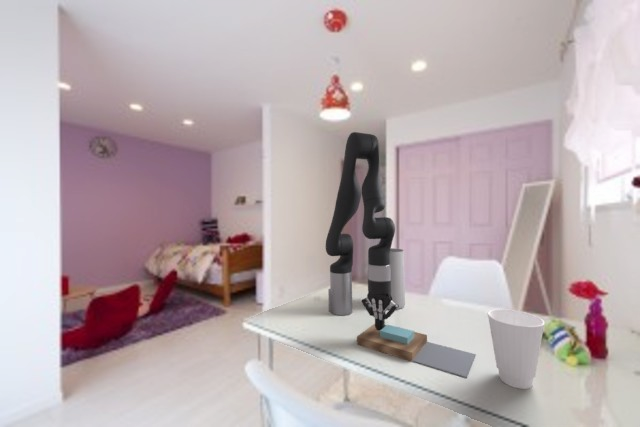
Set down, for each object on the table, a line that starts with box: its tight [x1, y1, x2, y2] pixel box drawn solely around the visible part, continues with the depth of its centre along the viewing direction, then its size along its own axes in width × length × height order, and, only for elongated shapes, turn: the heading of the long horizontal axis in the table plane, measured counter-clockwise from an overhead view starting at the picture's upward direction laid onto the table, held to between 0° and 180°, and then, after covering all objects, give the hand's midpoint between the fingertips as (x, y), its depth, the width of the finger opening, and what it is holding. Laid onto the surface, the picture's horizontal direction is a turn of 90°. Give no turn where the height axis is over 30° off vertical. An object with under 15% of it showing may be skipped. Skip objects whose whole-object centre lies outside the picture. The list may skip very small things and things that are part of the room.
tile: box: [380, 324, 415, 344], centre depth 91 cm, size 9×6×2 cm, turn 53°
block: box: [356, 323, 428, 362], centre depth 92 cm, size 18×14×2 cm
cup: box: [487, 308, 546, 390], centre depth 72 cm, size 12×12×16 cm
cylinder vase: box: [386, 247, 406, 311], centre depth 128 cm, size 12×12×25 cm
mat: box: [411, 341, 477, 379], centre depth 83 cm, size 14×14×1 cm
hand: (379, 329), depth 95 cm, fingers closed
